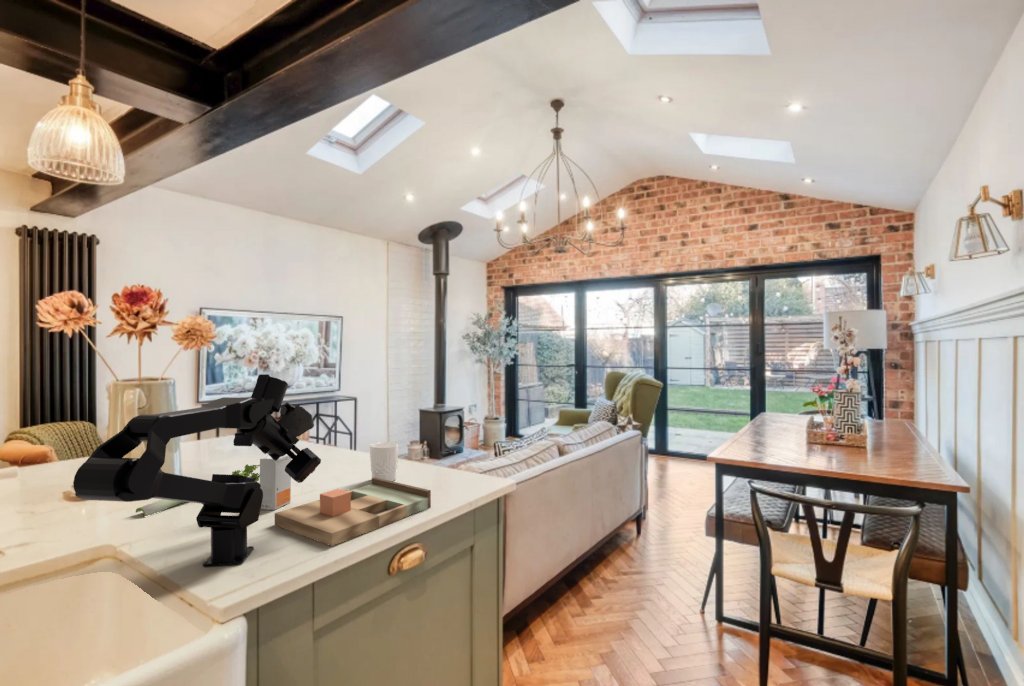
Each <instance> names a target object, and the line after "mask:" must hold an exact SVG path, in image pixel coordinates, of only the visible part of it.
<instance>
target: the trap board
mask: <svg viewBox="0 0 1024 686" xmlns="http://www.w3.org/2000/svg"><path fill="white" fill-rule="evenodd" d="M347 491H348V492H351V511H348V512H345V513H342V514H339V515H336V516H333V517H332V516H329V515H326V514H323V513H320V499H317V500H314V501H311V502H307V503H305V504H302V505H298V506H294V507H290V508H287V509H285V510H284V509H283V510H281V511H278V512H274V526H276V527H279V528H283V530H284V529H285V530H286V531H287V530H288V531H290V532H293V533H295V534H297V535H299V536H300V535H301V536H303V537H305V536H306V537H305V538H308V537H309V539H311V538H312V539H311V540H313V539H315V540H314V541H316V540H318V541H317V542H319V541H320V542H319V543H321V542H323V543H322V544H324V543H326V544H329V545H331V546H330V547H334V546H336V545H335V544H337V545H339V544H338V543H340V544H342V543H344V541H345V542H347V541H349V539H350V540H352V539H354V537H355V538H357V537H359V535H360V536H362V535H364V533H365V534H366V533H369V531H370V532H373V531H374V530H377V529H379V528H382V527H384V526H386V525H390V524H392V523H394V522H397V521H399V520H401V519H405V518H407V517H409V515H410V516H412V515H414V513H415V514H417V513H419V511H420V512H422V511H424V510H427V509H430V508H431V506H432V500H431V496H432V495H431V494H432V492H431V491H432V490H431V489H426V488H423V487H419V486H414V485H410V484H405V483H402V482H397V481H388V480H384V479H380V478H375V477H374V478H372V477H371V484H367V485H364V486H359V487H357V488H354V489H350V490H347ZM411 514H412V515H411ZM404 517H405V518H404ZM361 534H362V535H361ZM356 536H357V537H356ZM351 538H352V539H351ZM341 542H342V543H341ZM326 544H325V545H326ZM329 545H328V546H329ZM333 545H334V546H333Z"/></svg>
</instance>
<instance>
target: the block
mask: <svg viewBox="0 0 1024 686" xmlns="http://www.w3.org/2000/svg"><path fill="white" fill-rule="evenodd" d="M348 491H349V490H343V489H339V488H336V489H332V490H329V491H326V492H323V493H320V494H319V500H320V513H323V514H326V515H329V516H332V517H333V516H336V515H339V514H342V513H345V512H348V511H351V492H348Z"/></svg>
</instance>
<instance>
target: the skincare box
mask: <svg viewBox="0 0 1024 686" xmlns="http://www.w3.org/2000/svg"><path fill="white" fill-rule="evenodd" d="M291 460H292V459H291V458H290V457H289V456H288V455H287V454H286V455H284V456H282V457H280V458H279V459H278V460H277V461H275V460H274V459H272V458H271V457H270V456H269V455H267V456H265V457H262V458H260V459H259V464H260V466H259V475H260V477H259V483H260V485H261V487H260V488H261V489H262V491H263V499H262V504H261V509H260V510H265V511H266V510H269V511H276V510H277V509H279V508H280V509H281V508H282V507H283V506H285V505H288V504H291V500H292V499H291V498H292V497H291V493H292V492H291V491H292V489H291V488H292V487H291V485H292V483H291V482H292V481H291V480H292V477H290V476H289V475H288V474H287V473H286V472H285V467H286V465H287V464H288V463H289V462H290V461H291Z"/></svg>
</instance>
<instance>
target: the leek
mask: <svg viewBox="0 0 1024 686" xmlns="http://www.w3.org/2000/svg"><path fill="white" fill-rule="evenodd" d="M259 467H260V463H259V464H258V465H257V464H251V465H249V464H245V466H244V470H240V469H239V470H238V469H237V470H234V471H232V472H231V475H243V476H246V477H255V478H256V480H255V482H259V481H260V473H259V472H257V473H255V472H254V471H256V469H258V468H259ZM182 503H184V502H183V501H174V500H165V499H159V500H157V501H154V502H152V503H148V504H146V505H143V506H139V507H137V508H136V510H135V513H139V512H142V513H143V517H144V516H148V515H150V516H153V515H155V514H154V513H156V514H158V513H157V512H159V513H161V512H163V511H165V510H167V509H169V508H172V507H174V506H177V505H179V504H182ZM160 511H161V512H160ZM152 514H153V515H152ZM148 517H149V516H148Z"/></svg>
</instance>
